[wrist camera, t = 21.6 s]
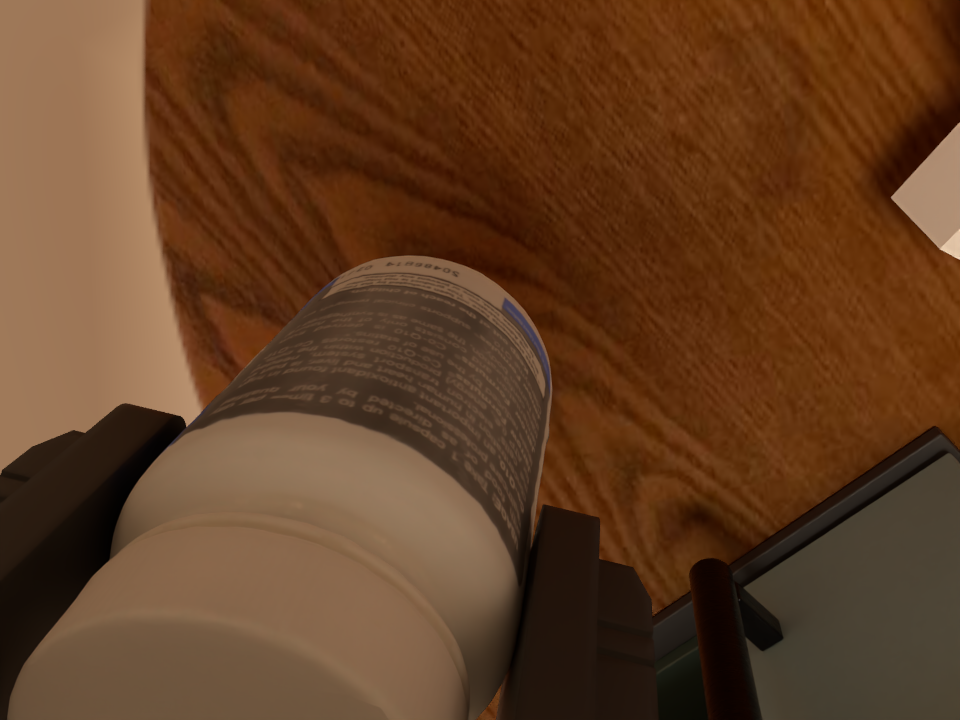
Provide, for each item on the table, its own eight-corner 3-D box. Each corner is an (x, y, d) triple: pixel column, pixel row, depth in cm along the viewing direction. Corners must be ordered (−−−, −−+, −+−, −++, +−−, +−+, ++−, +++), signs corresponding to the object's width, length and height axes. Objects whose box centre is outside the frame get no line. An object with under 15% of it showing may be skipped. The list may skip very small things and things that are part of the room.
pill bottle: (277, 250, 14) (-123, 552, 6) (552, 248, 13) (471, 587, 6) (314, 486, 16) (41, 934, 8) (556, 495, 15) (499, 998, 8)
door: (646, 547, 26) (659, 776, 18) (878, 379, 22) (1013, 574, 15) (720, 614, 26) (763, 863, 19) (957, 460, 23) (1126, 687, 15)
